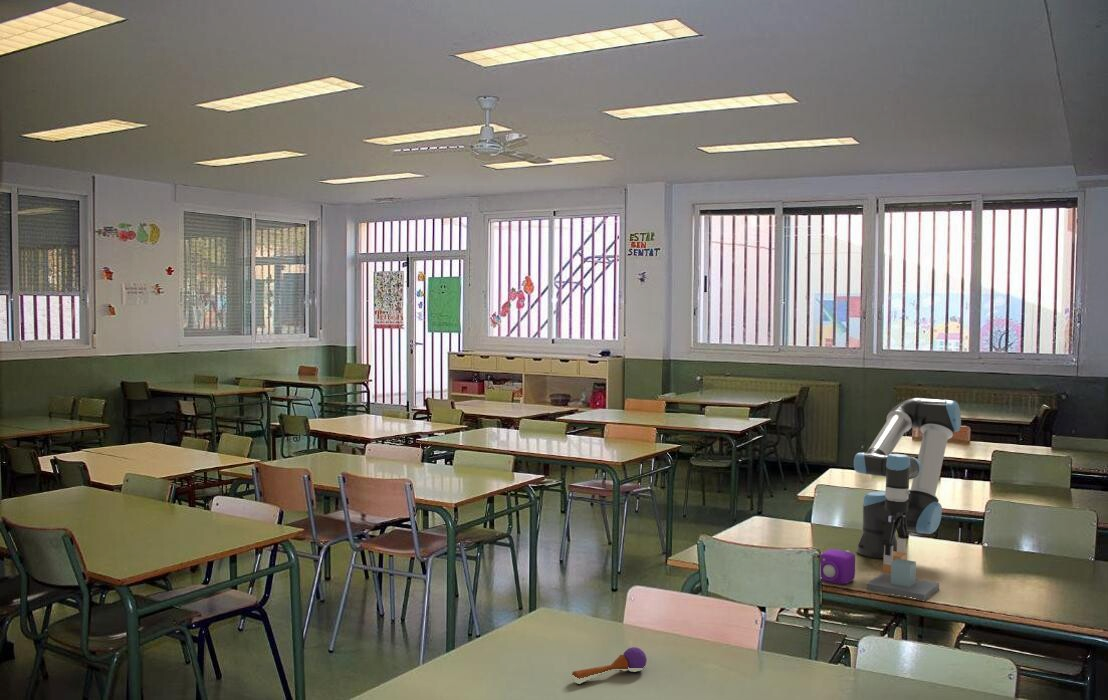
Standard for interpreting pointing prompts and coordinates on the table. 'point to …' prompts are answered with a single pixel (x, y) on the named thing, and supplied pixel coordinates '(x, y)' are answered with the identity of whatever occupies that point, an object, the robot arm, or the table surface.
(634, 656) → the purple and brown microphone
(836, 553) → the toy camera
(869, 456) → the robot arm
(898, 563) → the teal brick
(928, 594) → the base plate
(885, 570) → the orange brick
